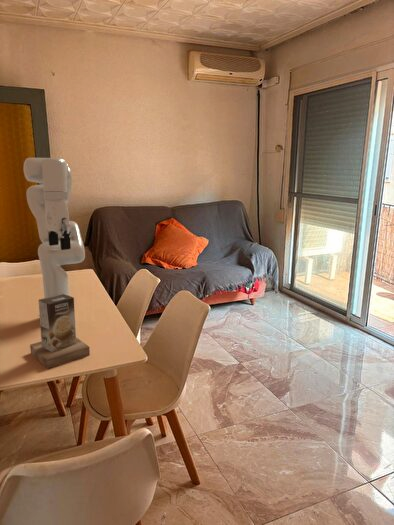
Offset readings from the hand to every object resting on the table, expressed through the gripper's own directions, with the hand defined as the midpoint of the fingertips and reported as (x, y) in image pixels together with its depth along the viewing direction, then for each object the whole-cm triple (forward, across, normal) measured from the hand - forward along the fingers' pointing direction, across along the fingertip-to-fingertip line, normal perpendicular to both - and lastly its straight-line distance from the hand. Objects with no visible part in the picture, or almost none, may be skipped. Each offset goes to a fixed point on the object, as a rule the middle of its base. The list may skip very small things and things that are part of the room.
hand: (59, 247), depth 135 cm
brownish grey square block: (+33, +11, -7) cm, 36 cm away
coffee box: (+31, +11, -7) cm, 33 cm away
